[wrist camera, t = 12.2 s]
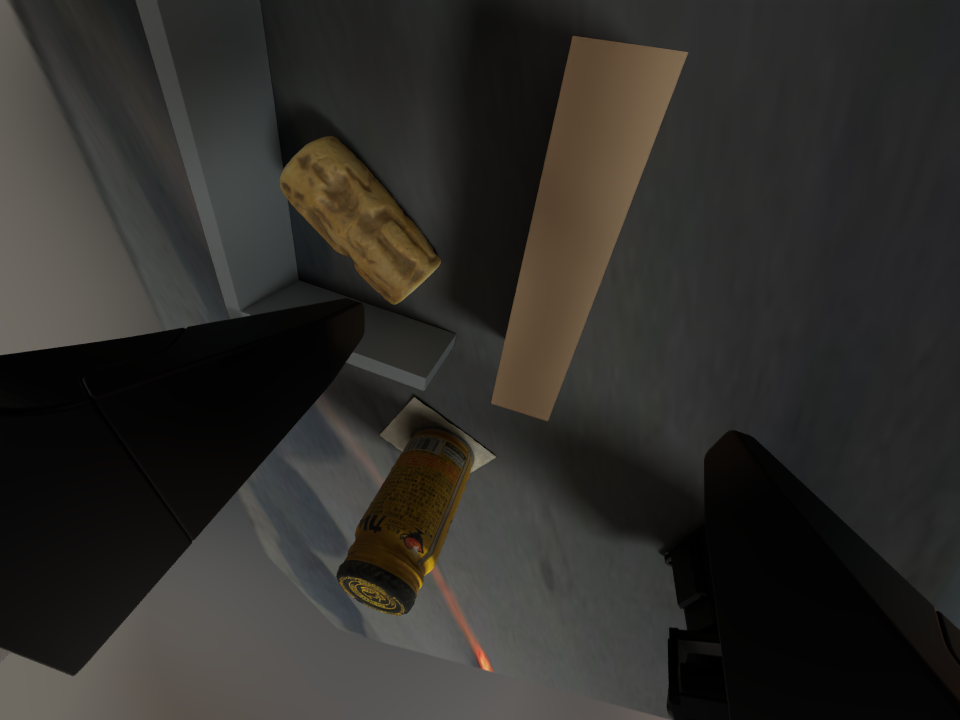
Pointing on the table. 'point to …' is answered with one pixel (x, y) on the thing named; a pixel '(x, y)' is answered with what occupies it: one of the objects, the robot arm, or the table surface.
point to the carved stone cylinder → (358, 217)
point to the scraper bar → (581, 208)
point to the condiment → (410, 510)
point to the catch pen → (255, 176)
